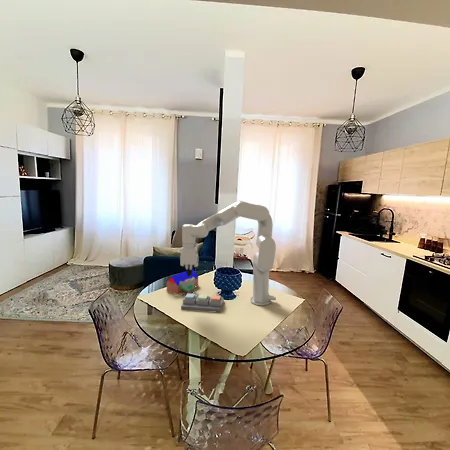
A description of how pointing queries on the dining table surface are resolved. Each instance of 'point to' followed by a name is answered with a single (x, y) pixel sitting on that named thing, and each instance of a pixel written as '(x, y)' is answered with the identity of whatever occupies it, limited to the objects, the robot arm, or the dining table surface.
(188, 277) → the house
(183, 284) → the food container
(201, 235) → the robot arm
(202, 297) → the button sage
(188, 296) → the button slate
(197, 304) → the button panel
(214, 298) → the button terracotta
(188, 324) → the dining table surface
